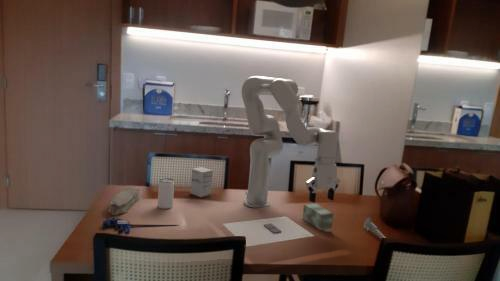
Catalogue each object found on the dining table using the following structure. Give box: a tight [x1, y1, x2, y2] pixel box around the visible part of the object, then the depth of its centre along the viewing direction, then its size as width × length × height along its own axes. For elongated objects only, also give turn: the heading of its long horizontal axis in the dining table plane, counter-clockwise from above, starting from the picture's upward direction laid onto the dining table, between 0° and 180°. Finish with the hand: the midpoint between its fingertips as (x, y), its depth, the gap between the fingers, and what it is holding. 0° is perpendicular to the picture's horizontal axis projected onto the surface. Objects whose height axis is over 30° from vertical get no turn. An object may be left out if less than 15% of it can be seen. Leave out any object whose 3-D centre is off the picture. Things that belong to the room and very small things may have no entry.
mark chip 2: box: [269, 228, 282, 234], centre depth 146 cm, size 4×4×1 cm
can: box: [157, 177, 175, 210], centre depth 163 cm, size 6×6×12 cm
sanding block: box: [301, 202, 335, 233], centre depth 158 cm, size 12×6×8 cm, turn 28°
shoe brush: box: [107, 186, 140, 216], centre depth 161 cm, size 24×8×5 cm, turn 179°
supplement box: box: [189, 166, 214, 198], centre depth 183 cm, size 7×7×13 cm
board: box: [222, 215, 315, 247], centre depth 147 cm, size 20×30×2 cm, turn 119°
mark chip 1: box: [264, 224, 276, 230], centre depth 149 cm, size 4×4×1 cm
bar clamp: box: [102, 217, 178, 234], centre depth 142 cm, size 32×2×10 cm
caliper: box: [363, 216, 387, 239], centre depth 151 cm, size 20×1×6 cm, turn 17°
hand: (321, 200), depth 156 cm, fingers open, 9 cm apart
